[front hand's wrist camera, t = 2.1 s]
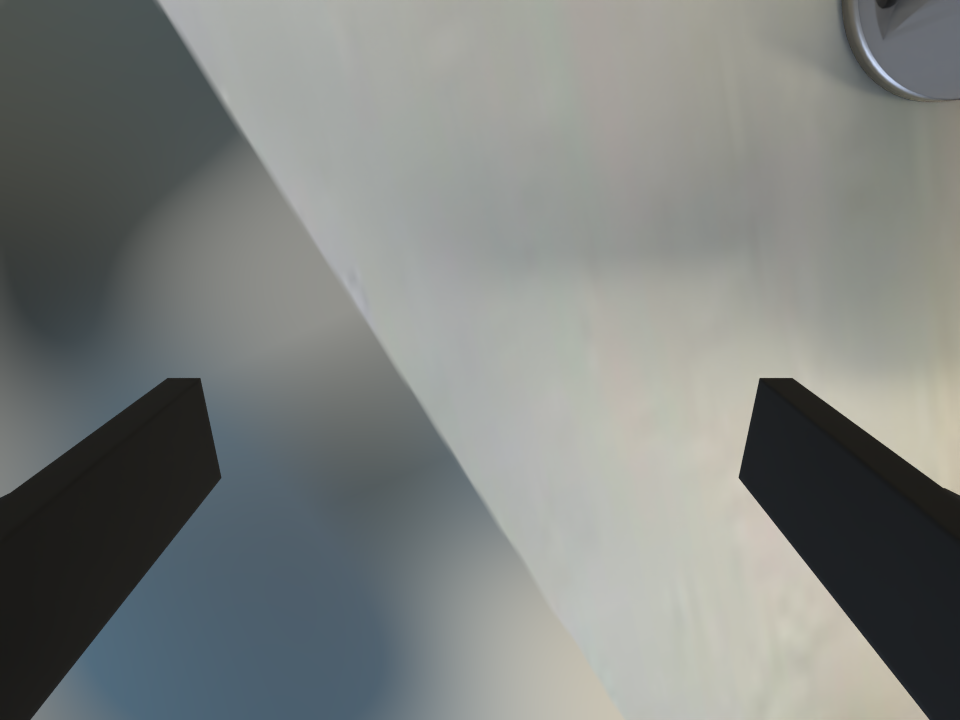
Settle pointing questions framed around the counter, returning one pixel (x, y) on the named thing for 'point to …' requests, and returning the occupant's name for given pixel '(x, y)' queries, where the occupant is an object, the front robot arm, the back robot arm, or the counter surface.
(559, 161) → the counter surface
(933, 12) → the front robot arm
